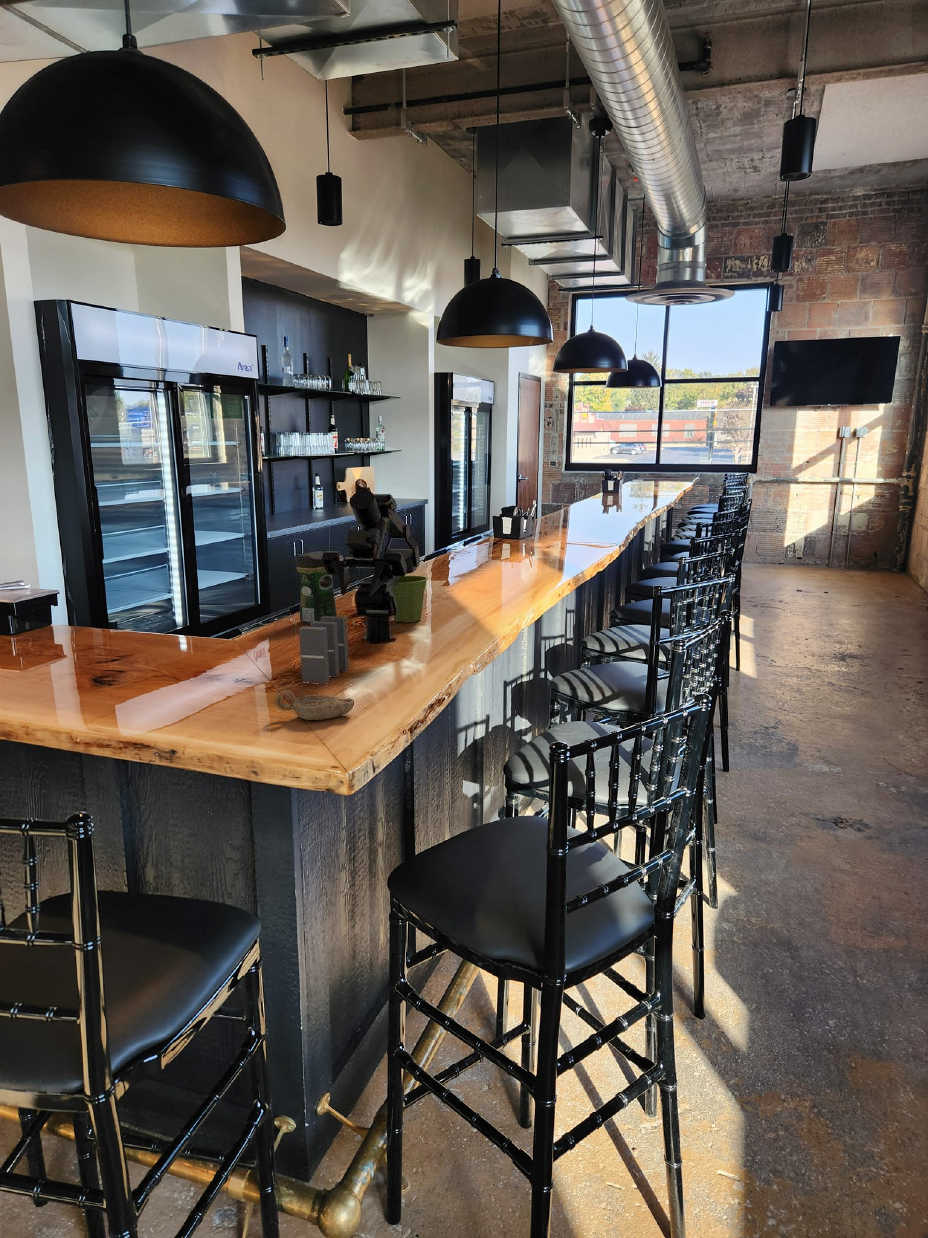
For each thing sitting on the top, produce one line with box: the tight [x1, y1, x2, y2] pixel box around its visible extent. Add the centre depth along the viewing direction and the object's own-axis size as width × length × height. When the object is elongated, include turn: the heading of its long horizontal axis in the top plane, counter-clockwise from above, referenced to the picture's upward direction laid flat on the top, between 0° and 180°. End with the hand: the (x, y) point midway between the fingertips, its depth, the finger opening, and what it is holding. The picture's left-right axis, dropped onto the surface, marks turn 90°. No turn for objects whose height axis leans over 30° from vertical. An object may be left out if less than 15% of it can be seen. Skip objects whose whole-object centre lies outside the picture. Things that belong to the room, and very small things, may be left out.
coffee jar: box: [296, 550, 338, 625], centre depth 208 cm, size 10×8×19 cm
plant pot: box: [392, 575, 429, 624], centre depth 208 cm, size 12×12×11 cm
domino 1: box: [298, 626, 331, 685], centre depth 153 cm, size 2×5×11 cm, turn 76°
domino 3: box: [320, 616, 350, 672], centre depth 162 cm, size 2×5×11 cm, turn 76°
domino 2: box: [309, 621, 340, 678], centre depth 158 cm, size 2×5×11 cm, turn 76°
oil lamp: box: [275, 689, 355, 721], centre depth 133 cm, size 13×8×5 cm, turn 91°
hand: (356, 594), depth 172 cm, fingers open, 6 cm apart
